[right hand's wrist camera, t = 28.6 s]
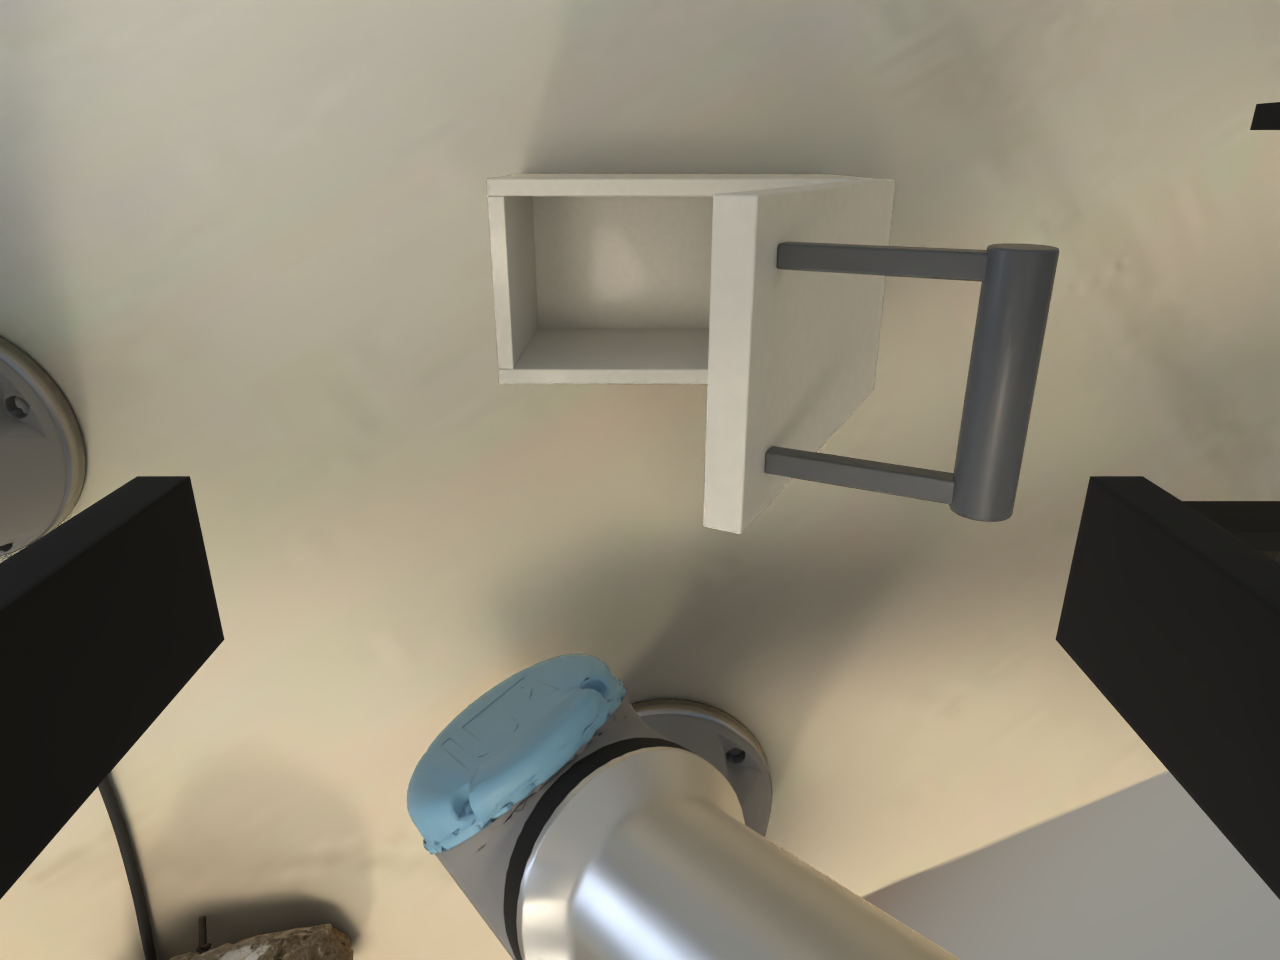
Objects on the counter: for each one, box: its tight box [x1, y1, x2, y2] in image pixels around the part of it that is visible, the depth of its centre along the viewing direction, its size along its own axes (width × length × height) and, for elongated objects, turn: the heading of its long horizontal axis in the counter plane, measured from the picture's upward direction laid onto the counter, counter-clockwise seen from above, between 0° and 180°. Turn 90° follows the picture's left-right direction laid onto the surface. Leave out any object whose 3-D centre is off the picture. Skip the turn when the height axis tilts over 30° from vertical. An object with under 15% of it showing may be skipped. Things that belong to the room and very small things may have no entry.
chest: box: [486, 174, 875, 384], centre depth 43 cm, size 17×9×11 cm, turn 90°
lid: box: [703, 179, 1059, 534], centre depth 29 cm, size 18×9×8 cm
